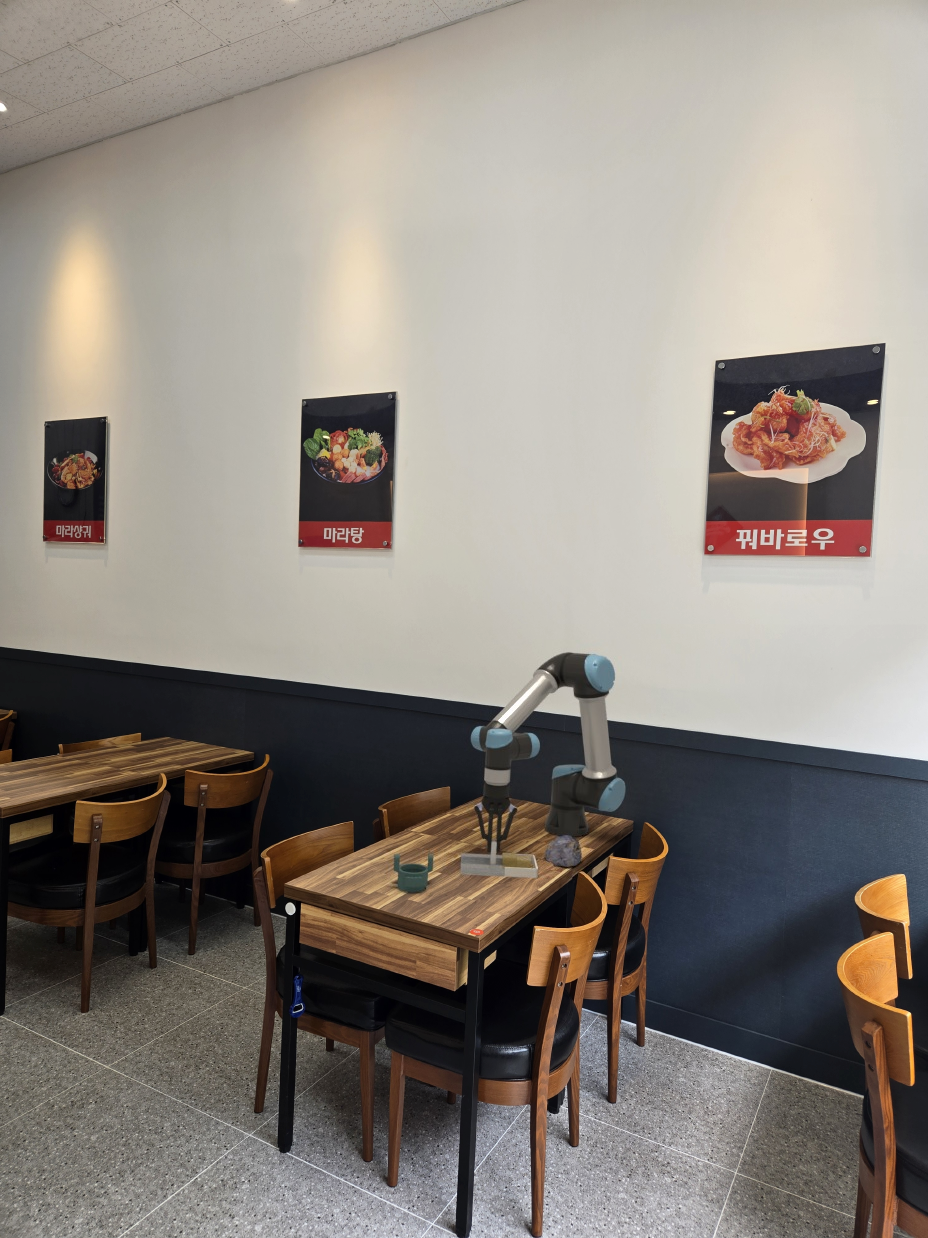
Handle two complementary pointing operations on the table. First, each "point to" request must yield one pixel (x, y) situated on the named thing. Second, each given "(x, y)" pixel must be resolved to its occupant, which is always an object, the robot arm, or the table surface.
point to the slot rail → (481, 865)
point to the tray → (523, 869)
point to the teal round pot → (412, 875)
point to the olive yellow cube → (509, 859)
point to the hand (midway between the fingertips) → (492, 863)
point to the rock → (564, 851)
